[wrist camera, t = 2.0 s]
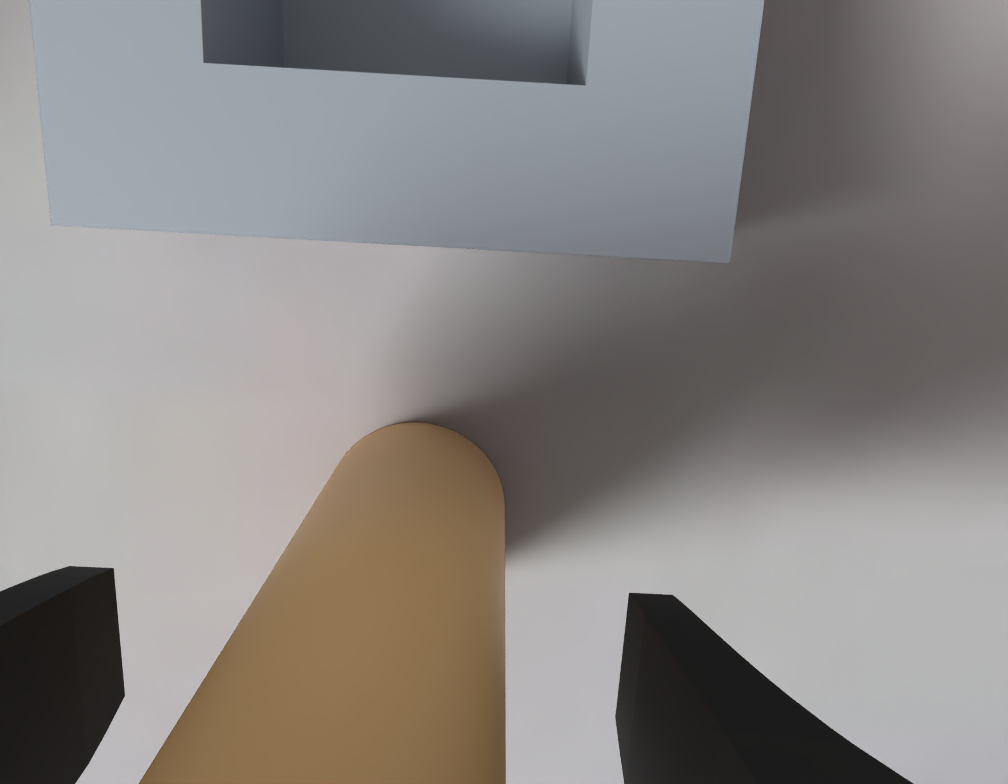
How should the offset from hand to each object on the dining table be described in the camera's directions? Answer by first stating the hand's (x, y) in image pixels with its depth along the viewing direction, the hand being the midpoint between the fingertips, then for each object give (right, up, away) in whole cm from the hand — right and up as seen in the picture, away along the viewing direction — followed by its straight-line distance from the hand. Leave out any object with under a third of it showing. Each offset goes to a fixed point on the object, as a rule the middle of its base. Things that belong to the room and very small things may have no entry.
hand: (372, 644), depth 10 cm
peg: (0, +1, +5) cm, 5 cm away
